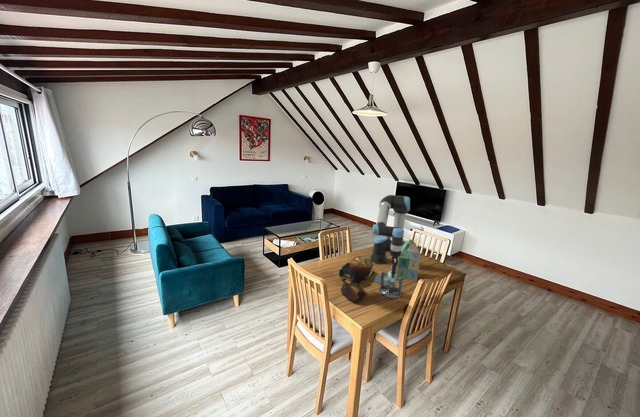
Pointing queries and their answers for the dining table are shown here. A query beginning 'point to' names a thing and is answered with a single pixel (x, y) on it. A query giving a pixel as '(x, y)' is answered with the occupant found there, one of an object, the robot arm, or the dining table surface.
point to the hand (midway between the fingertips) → (392, 277)
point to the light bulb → (390, 278)
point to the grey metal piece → (390, 288)
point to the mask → (347, 271)
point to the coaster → (379, 280)
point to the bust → (356, 278)
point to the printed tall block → (409, 261)
